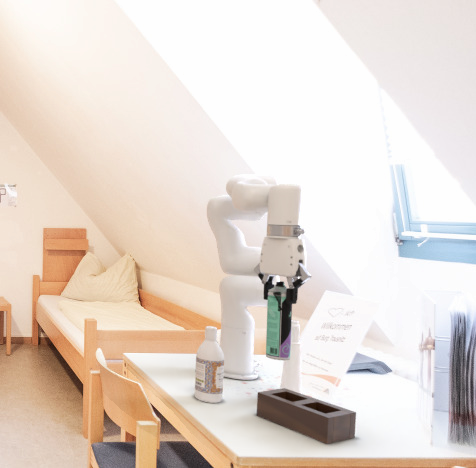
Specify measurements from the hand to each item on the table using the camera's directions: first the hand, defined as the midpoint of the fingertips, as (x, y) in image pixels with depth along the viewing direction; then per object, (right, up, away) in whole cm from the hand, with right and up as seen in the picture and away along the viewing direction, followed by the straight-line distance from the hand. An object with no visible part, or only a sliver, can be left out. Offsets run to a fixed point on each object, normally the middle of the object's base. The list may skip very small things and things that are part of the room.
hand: (279, 300), depth 138 cm
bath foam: (-15, -28, +8) cm, 33 cm away
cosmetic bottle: (+9, -29, +9) cm, 31 cm away
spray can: (0, -15, 0) cm, 15 cm away
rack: (0, -29, -9) cm, 31 cm away
